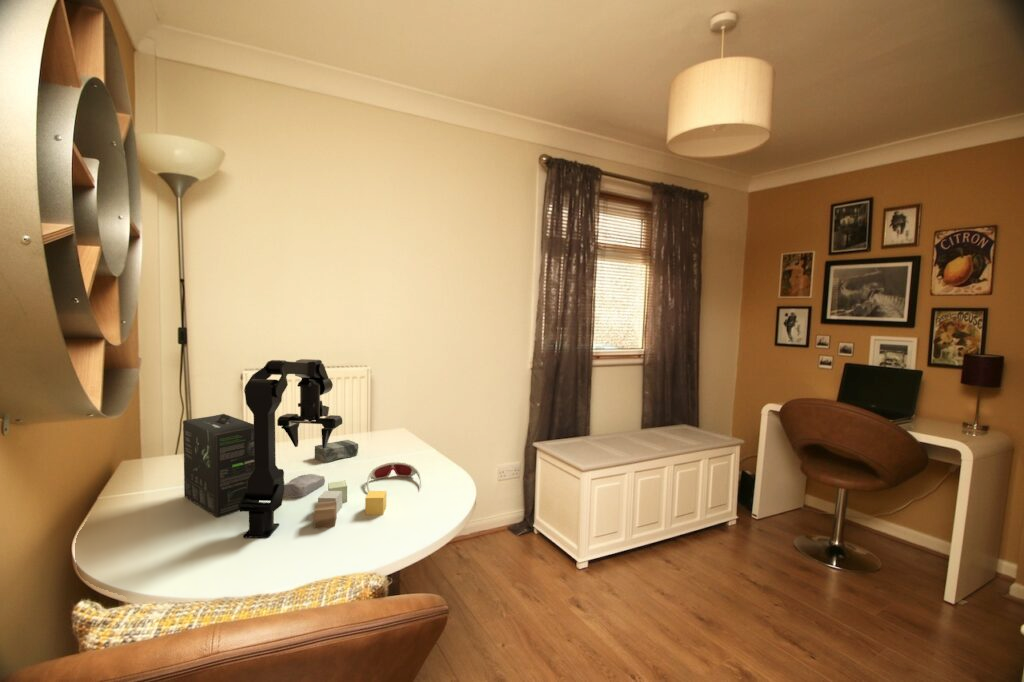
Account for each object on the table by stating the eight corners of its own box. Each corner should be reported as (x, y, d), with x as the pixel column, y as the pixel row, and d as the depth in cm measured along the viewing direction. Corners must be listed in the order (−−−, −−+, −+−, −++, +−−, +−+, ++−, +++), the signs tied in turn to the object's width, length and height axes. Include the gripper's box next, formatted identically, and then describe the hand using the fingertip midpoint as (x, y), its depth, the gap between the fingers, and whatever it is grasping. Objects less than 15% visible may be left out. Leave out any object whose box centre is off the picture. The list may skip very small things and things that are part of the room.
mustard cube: (383, 514, 129) (383, 497, 129) (365, 515, 129) (365, 498, 128) (386, 507, 134) (386, 490, 134) (369, 507, 134) (369, 490, 133)
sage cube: (347, 502, 137) (347, 486, 136) (329, 504, 135) (329, 488, 134) (345, 495, 141) (345, 480, 141) (328, 498, 139) (328, 482, 139)
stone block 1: (277, 501, 141) (304, 498, 138) (274, 486, 141) (302, 483, 139) (302, 488, 152) (328, 485, 150) (299, 474, 152) (325, 471, 150)
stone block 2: (360, 455, 180) (360, 442, 180) (326, 464, 169) (326, 451, 169) (348, 450, 186) (348, 438, 186) (314, 459, 175) (314, 445, 175)
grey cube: (335, 515, 128) (335, 498, 128) (318, 515, 128) (317, 497, 128) (342, 507, 133) (342, 491, 133) (325, 507, 133) (325, 490, 133)
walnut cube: (334, 526, 122) (334, 508, 121) (314, 528, 120) (314, 510, 120) (336, 518, 126) (336, 500, 126) (317, 520, 125) (317, 502, 125)
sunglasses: (417, 472, 162) (417, 460, 161) (422, 499, 147) (423, 486, 146) (366, 477, 157) (366, 464, 156) (367, 506, 141) (366, 491, 140)
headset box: (261, 503, 134) (259, 418, 132) (216, 518, 124) (214, 426, 122) (225, 485, 147) (224, 407, 145) (182, 498, 137) (180, 414, 135)
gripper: (349, 395, 150) (349, 441, 151) (295, 393, 151) (296, 439, 152) (334, 401, 139) (334, 451, 140) (276, 399, 140) (276, 448, 141)
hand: (310, 447), depth 144 cm, fingers open, 9 cm apart
